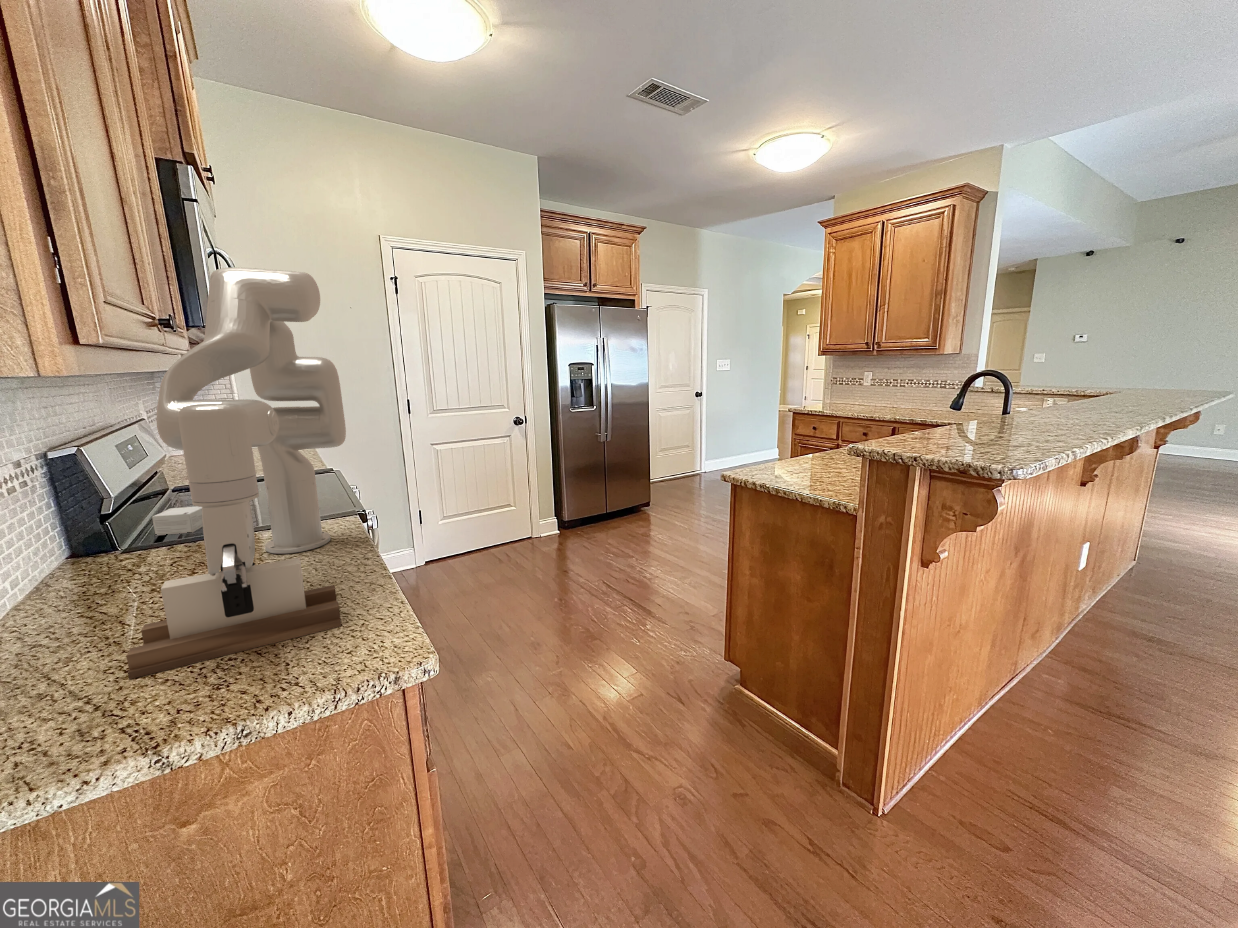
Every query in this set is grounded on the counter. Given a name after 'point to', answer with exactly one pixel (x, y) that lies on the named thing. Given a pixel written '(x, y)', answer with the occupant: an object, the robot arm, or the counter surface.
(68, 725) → the counter surface
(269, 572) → the white rectangular slab
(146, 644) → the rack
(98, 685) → the counter surface
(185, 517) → the small box
